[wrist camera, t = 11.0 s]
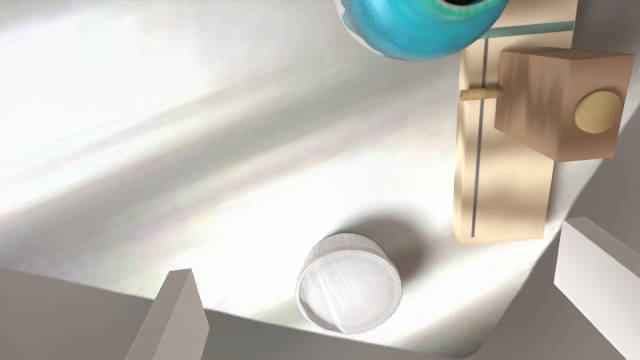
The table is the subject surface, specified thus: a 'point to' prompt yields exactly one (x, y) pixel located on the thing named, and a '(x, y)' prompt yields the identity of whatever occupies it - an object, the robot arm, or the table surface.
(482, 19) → the vase
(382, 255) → the ramekin
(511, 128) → the tan boxy wooden piece
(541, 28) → the board
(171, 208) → the table surface
